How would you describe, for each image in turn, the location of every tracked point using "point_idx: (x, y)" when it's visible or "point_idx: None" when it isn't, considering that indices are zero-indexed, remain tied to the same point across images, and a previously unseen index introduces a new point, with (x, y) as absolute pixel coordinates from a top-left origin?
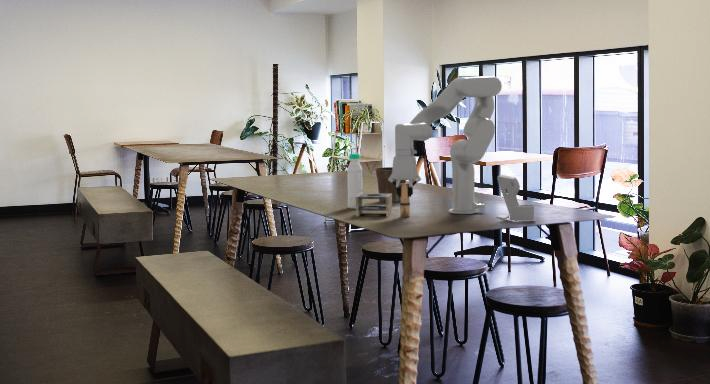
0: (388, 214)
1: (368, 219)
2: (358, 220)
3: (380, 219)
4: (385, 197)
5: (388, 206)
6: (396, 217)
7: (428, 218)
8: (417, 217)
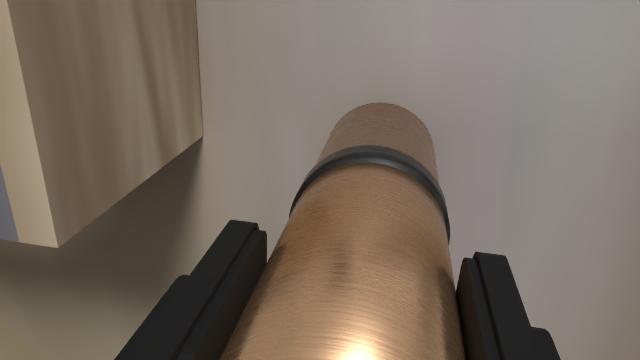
0: (191, 142)
1: (69, 281)
2: (14, 318)
3: (164, 292)
4: (21, 236)
5: (147, 177)
6: (290, 192)
7: (632, 290)
8: (518, 212)
